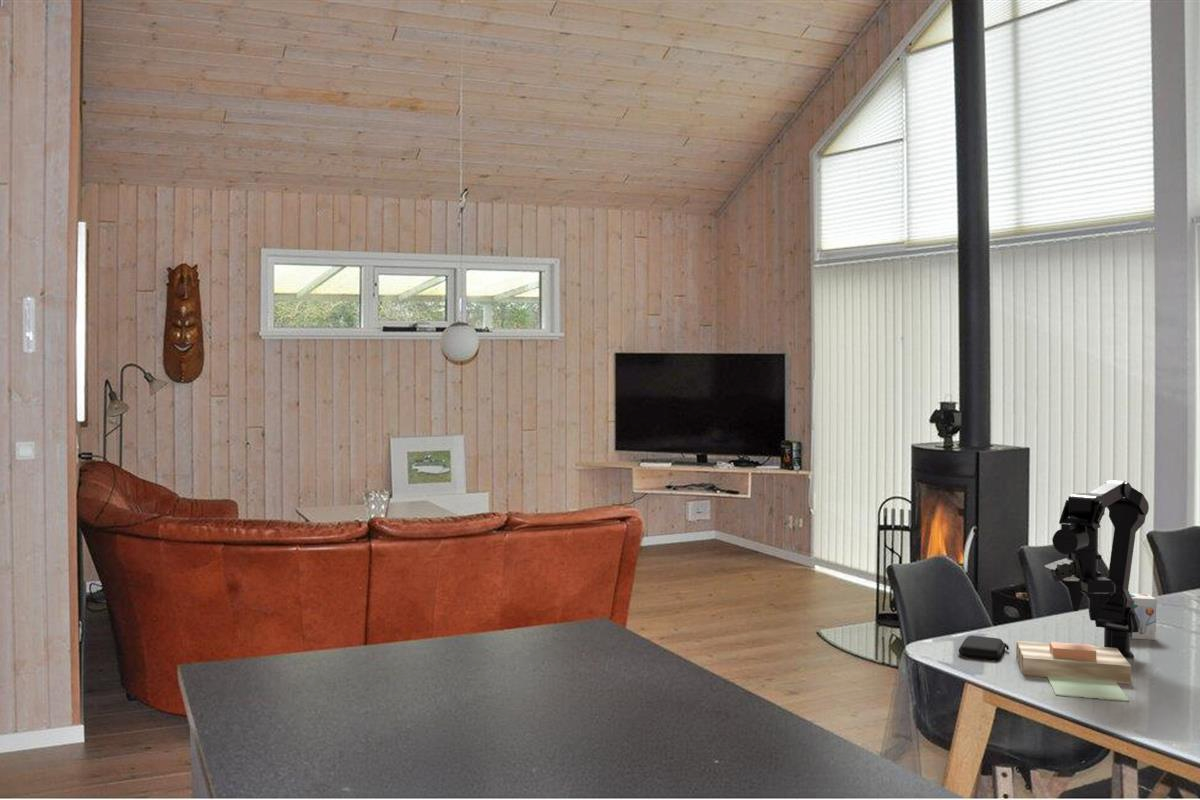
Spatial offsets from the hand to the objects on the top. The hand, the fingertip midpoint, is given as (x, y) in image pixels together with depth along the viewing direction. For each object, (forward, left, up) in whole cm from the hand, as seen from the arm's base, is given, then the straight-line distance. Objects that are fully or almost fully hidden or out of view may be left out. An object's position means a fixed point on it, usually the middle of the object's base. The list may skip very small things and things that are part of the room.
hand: (1083, 615), depth 238 cm
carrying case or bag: (-7, -21, -13) cm, 26 cm away
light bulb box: (-37, +17, -13) cm, 43 cm away
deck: (+3, -3, -12) cm, 13 cm away
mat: (+18, -2, -12) cm, 22 cm away
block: (+5, -3, -8) cm, 10 cm away
